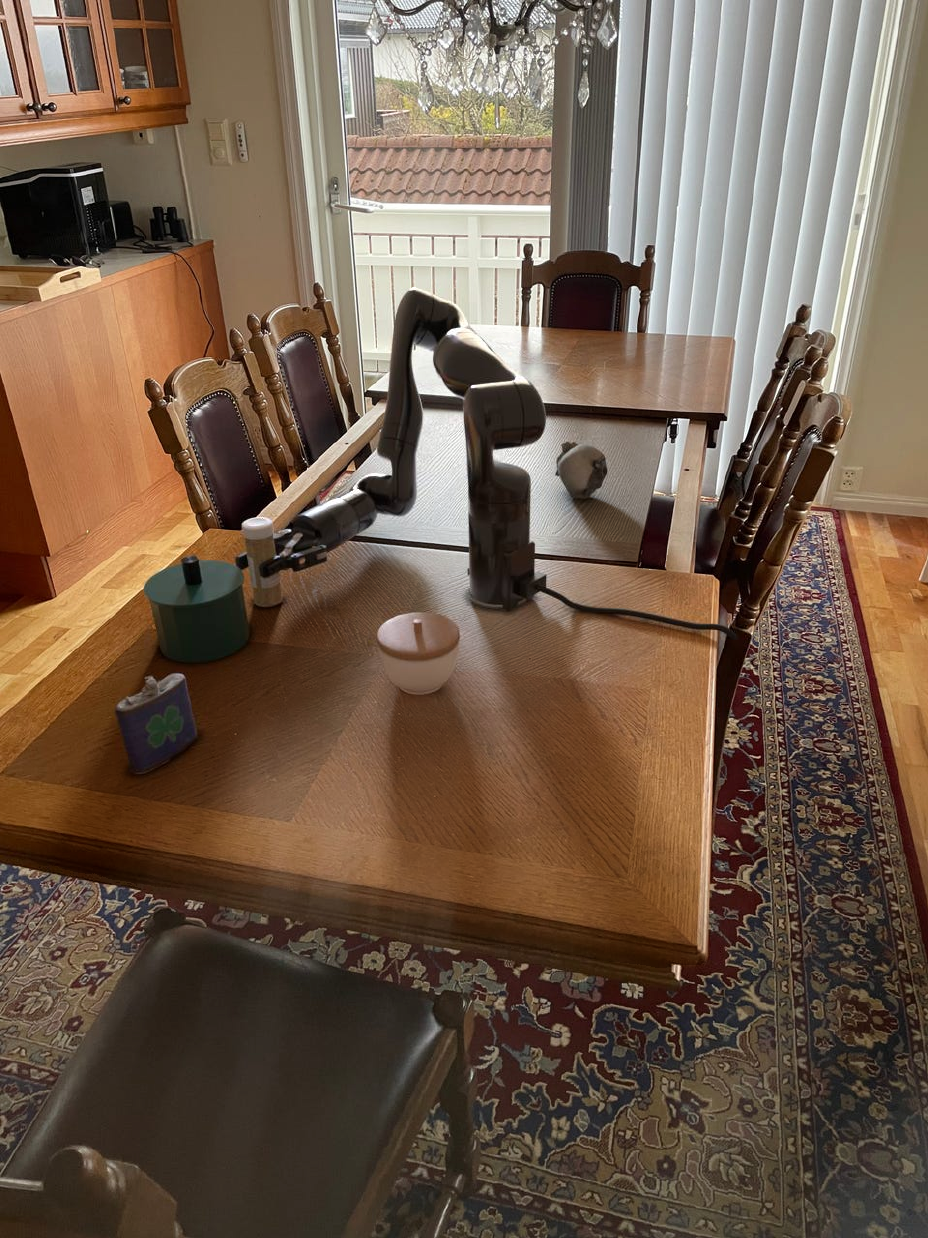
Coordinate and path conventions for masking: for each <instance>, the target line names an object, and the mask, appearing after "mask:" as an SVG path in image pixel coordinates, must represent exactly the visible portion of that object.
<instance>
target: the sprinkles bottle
mask: <svg viewBox="0 0 928 1238" xmlns="http://www.w3.org/2000/svg"><path fill="white" fill-rule="evenodd" d="M241 532H242V537H243V540H244V544H245V550H246V551H247V559H248V566H249V567H248V571H249V577H250V584H251V586H252V592H253V602H254V605H256V606H258V607H260V608H271V607H275V606H277V605H279V604H281V603H282V602H283V600H284V596H283V593H282V586H281V576H280V571H279V572H277V573H275V574H273V575H271V576H269V577H267V578H262V577H261V576H260V571H259V565H260V564H262V563H263V562H265V561H267V560H269V559H271V558H273V557H275V556H276V551H275V545H274V537H273V533H275V530H274V524H273V521H272V520H271V518H268V517H262V516H261V517H258V516H257V517H251V518H248V519H246V520H244V521H243V522H242V523H241ZM246 551H245V552H246Z"/></svg>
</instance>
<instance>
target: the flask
mask: <svg viewBox="0 0 928 1238" xmlns="http://www.w3.org/2000/svg"><path fill="white" fill-rule="evenodd" d="M143 679H144V680H145V683H146V684H145V685H144V686H143V688H142V689H141V692H139V693H137V694H134V695H133V696H126V697H125V698H124V699H122V700H121V701H119V702H118V703H117V705H116V706H115V709H114V713H115V717H116V719H117V723H118V727H119V730H120V735H121V737H122V739H123V744H124V748H125V752H126V755H127V759H128V763H129V767H130V769H131V770H130V772H132V773H134V774H135V775H141V774H146V773H148V772H150V771H153V770H155V769H156V768H158V767H161V766H162V765H164V764H166V763H168V762H169V761H171V760H172V759H173V758H174V757H175V756H177V755H179V754H180V753H181V752H183V751H185V750H186V749H188V747H190V746H191V745H193V744H194V742H195V741H196V740H197V739H198V730H197V727H196V721H195V718H194V717H195V716H194V713H193V708H192V702H191V699H190V695H189V690H188V685H187V679H186V676H185V675H184V674H183V673H170V674H169V675H166V677H165V678H163V679H161V680H156V679H155V678H154V676H153V675H149V676H145V677H144V678H143Z"/></svg>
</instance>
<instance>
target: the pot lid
mask: <svg viewBox="0 0 928 1238" xmlns="http://www.w3.org/2000/svg"><path fill="white" fill-rule="evenodd" d="M244 581H245V576H244V572H243V570H241V569H240V568H238V567H237V566H236V564H233V563H231V562H227V561H222V560H214V559H203V560H202V559H200V558H199V556H197V555H187V556H184V557H182V558H181V559H180V563H177V564H174V565H171V566H167V567H166V568H163V569H162V570H159V571H158V572H156V573H154V574H153V575H151V576H150V577H149V578H148V579H147V580H146V582H145V583H144V585H143V594H144V597H145V598H146V599H147V601H148V602H149V603H150V602H152V603H153V604H156V605H159V606H162V607H168V608H193V607H199V606H204V605H209V604H212V603H215V602H218V601H221V600H223V599H225V598H227V597H229V596H231V595H232V594H234V593H235V592H236V591H238V590H239V589H240V588H241V586H242V587H243V584H244Z"/></svg>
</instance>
